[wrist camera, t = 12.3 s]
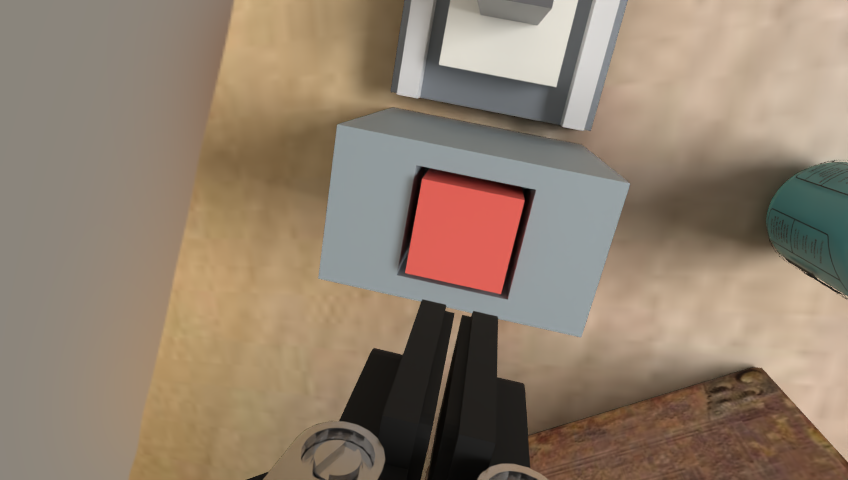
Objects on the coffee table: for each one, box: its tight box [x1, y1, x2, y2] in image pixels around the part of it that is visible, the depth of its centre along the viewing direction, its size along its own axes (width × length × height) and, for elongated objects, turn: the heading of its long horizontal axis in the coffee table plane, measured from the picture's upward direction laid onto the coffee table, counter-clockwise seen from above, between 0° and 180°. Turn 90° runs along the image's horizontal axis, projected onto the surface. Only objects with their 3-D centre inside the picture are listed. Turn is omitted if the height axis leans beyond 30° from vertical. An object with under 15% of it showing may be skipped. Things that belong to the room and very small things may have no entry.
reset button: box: [405, 168, 525, 294], centre depth 23 cm, size 4×4×4 cm
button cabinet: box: [318, 107, 630, 337], centre depth 27 cm, size 7×12×12 cm, turn 80°
